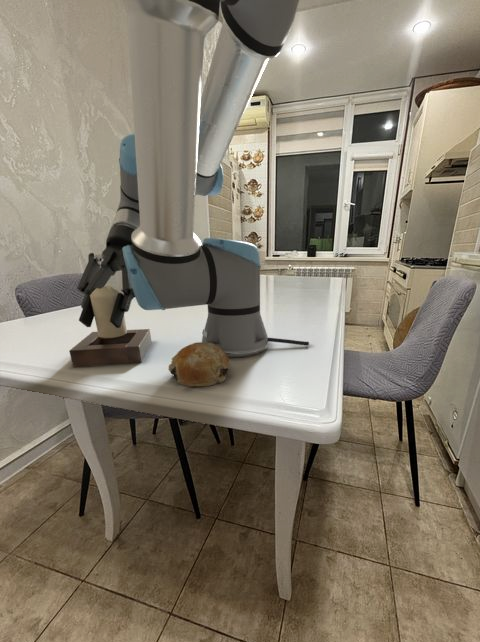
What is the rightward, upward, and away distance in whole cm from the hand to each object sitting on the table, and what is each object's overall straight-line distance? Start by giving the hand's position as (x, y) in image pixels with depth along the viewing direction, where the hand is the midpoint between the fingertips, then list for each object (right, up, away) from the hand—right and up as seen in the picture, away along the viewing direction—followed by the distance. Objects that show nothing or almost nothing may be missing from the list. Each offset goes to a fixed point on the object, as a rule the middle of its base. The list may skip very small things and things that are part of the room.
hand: (99, 323), depth 57 cm
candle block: (0, -6, +6) cm, 9 cm away
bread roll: (+21, -10, -5) cm, 24 cm away
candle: (0, -2, +5) cm, 5 cm away
